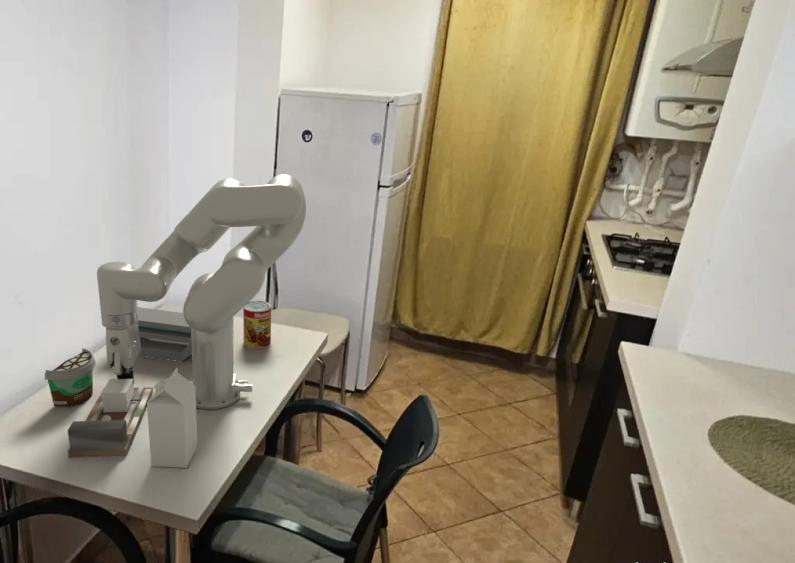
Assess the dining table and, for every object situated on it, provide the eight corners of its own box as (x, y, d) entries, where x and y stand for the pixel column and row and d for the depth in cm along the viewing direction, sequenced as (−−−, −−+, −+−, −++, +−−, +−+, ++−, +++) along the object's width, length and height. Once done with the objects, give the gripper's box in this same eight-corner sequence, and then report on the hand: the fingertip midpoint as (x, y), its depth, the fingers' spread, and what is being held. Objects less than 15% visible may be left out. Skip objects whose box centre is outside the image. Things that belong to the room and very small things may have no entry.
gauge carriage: (112, 396, 131) (110, 377, 129) (145, 395, 132) (144, 377, 130) (103, 412, 125) (101, 393, 123) (138, 411, 126) (137, 392, 124)
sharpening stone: (216, 352, 159) (216, 317, 155) (205, 365, 151) (203, 328, 148) (132, 340, 160) (129, 306, 157) (117, 353, 153) (113, 317, 149)
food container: (72, 415, 126) (68, 376, 122) (49, 409, 127) (43, 371, 123) (110, 388, 137) (106, 351, 134) (88, 383, 138) (84, 347, 135)
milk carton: (197, 446, 119) (194, 368, 113) (186, 468, 113) (183, 387, 106) (163, 445, 119) (159, 366, 112) (151, 466, 112) (145, 384, 106)
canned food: (261, 351, 162) (262, 313, 158) (238, 345, 164) (237, 307, 160) (275, 340, 169) (276, 304, 165) (252, 334, 171) (252, 298, 167)
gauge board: (104, 393, 135) (102, 369, 132) (153, 392, 137) (151, 369, 135) (68, 457, 113) (64, 430, 110) (127, 455, 115) (124, 428, 113)
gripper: (128, 330, 120) (134, 403, 127) (145, 303, 134) (150, 370, 140) (90, 330, 119) (98, 404, 125) (112, 303, 133) (118, 370, 139)
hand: (126, 386), depth 133 cm, fingers closed
